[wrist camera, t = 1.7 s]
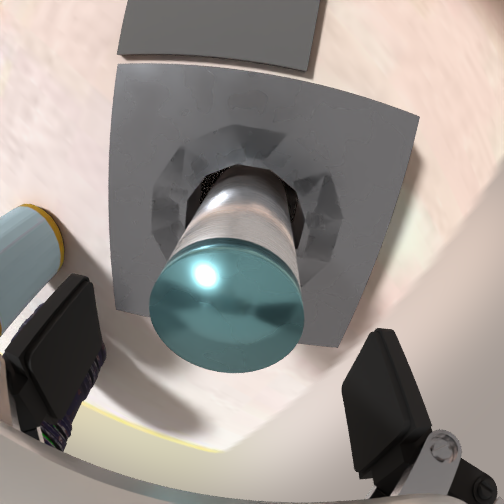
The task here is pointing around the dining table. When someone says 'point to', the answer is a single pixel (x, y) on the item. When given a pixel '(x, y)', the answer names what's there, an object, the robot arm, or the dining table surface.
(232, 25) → the mat
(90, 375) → the storage jar
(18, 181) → the dining table surface
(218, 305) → the plug
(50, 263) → the bottle
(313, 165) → the housing
